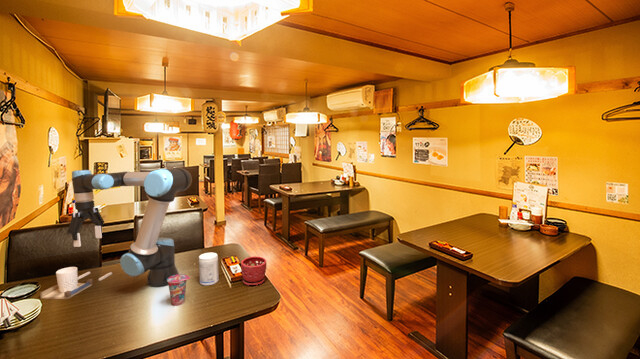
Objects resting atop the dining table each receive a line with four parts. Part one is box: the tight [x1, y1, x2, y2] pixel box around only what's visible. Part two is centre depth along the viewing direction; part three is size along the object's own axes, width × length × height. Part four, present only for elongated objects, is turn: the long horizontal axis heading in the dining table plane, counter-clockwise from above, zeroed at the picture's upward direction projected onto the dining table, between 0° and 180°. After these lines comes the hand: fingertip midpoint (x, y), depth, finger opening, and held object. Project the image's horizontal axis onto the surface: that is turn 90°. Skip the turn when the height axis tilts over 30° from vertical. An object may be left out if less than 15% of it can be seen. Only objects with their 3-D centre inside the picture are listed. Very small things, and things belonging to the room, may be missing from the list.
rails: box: [77, 271, 113, 282], centre depth 157 cm, size 14×8×1 cm, turn 88°
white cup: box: [55, 266, 79, 293], centre depth 141 cm, size 8×8×10 cm
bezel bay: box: [39, 278, 94, 300], centre depth 141 cm, size 13×14×3 cm
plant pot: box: [240, 256, 267, 286], centre depth 152 cm, size 13×13×12 cm
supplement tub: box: [198, 251, 220, 286], centre depth 152 cm, size 10×10×15 cm
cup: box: [167, 273, 191, 307], centre depth 131 cm, size 9×8×12 cm
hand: (88, 242), depth 145 cm, fingers open, 13 cm apart
